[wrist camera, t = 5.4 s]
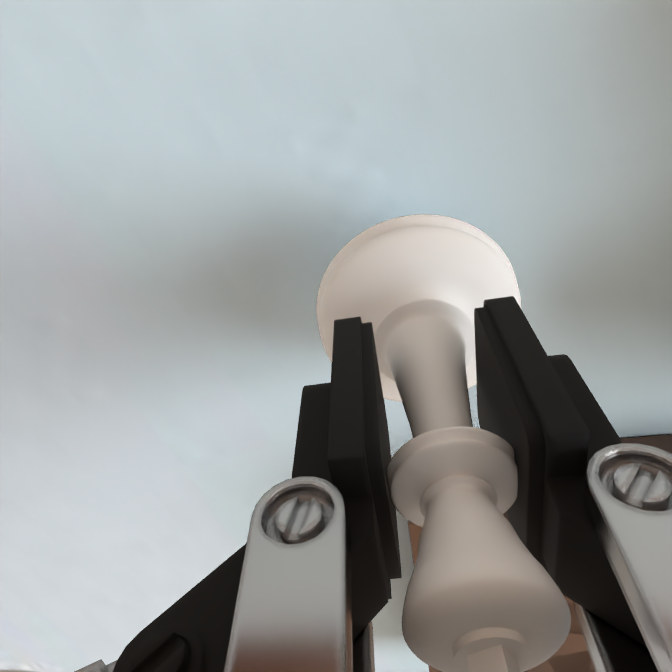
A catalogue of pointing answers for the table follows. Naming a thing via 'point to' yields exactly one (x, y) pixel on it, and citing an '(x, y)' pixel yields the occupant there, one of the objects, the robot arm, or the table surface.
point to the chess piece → (447, 443)
